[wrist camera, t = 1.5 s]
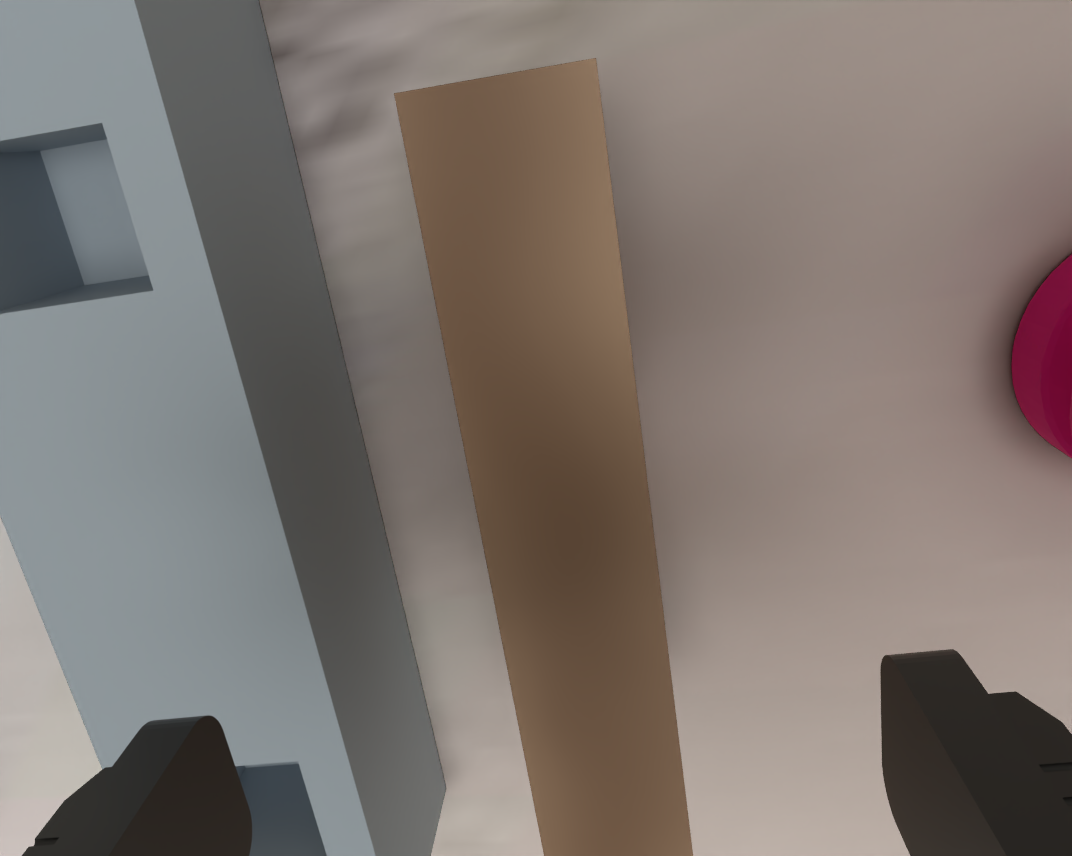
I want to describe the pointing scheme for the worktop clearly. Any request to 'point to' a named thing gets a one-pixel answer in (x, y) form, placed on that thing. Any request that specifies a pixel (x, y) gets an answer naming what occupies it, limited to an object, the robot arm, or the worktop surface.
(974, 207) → the worktop surface
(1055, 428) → the pepper mill
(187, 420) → the blue-grey bar block
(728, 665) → the worktop surface
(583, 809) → the rail
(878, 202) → the worktop surface
